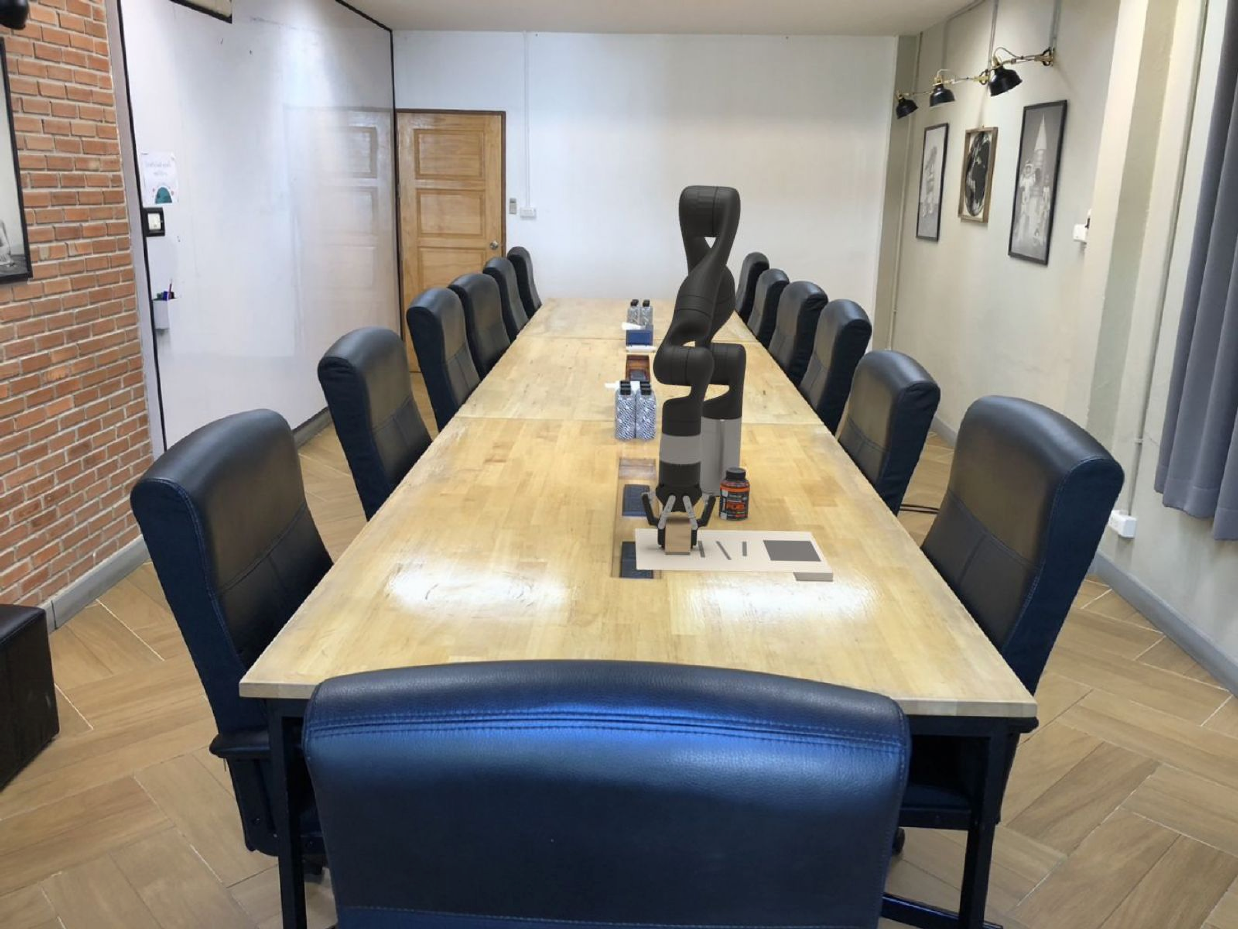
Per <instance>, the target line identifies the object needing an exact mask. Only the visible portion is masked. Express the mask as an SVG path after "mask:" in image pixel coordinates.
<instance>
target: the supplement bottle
mask: <svg viewBox="0 0 1238 929" xmlns="http://www.w3.org/2000/svg"><path fill="white" fill-rule="evenodd" d="M746 477H747V470H746V469H745V468H743V467H740V468H738V467H730V468H727V469H726V477H725V478H724V479H722V481H721V484H720V496H719V500H718V502H719V504H718V517H719V518H720V519H722V520H725V521H730V522H731V521H732V522H741V521H745V520H747V519H749V518H748V517H749V508H750V507H749V504H750V489H751V483H750V481H749V480H748V479H747V478H746Z"/></svg>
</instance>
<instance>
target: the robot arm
mask: <svg viewBox="0 0 1238 929" xmlns="http://www.w3.org/2000/svg"><path fill="white" fill-rule="evenodd" d="M740 195H741V194H740V193H739V191H738V189H736V188H734V187H731V186H721V185H720V186H719V185H703V184H702V185H698V184H697V185H695V184H694V185H688V186H686V187H684V189H683V190H682V191H681V193H680V195H679V200H678V220H679V227H680V233H681V238H682V243H683V247H684V253H685V258H686V264H687V276H686V277H685V278H684V280H683V281H682V282H681V284H680V286H679V288H678V290H677V294H676V298H675V304H674V309H673V314H672V317H671V318H672V319H671V322H670V324H669V327H668V329H667V331H666V334H665V335H664V337H663V339H662V341H661V343H660V345H659V346H658V348H657V350H656V352H655V355H654V358H653V362H652V372H653V375H654V378H655V379H656V381H657V382H658V383H660V384H662V385H665V386H678V387H690V392H689V394H688V395H685V396H679V397H673V398H669V399H667V400H665V401H664V402H663V404H662V407H661V408H662V410H661V432H660V433H661V434H660V440H659V447H658V448H659V451H658V456H659V458H658V482H657V486H656V487H655V489H654V490H650V491H646V490H645V491H642V492H641V501H642V506H643V508H644V512H645V517H646V520H647V523H648V525H649V526H651V527H652V526H653V527H656V529H658V535H657V541H658V545H661V548H665V524H666V521H667V519H668V517H669V515H670V514H671V513H677V512H680V513H682V514H687V515H688V518H689V522H691V548H690V549H693V546H696V544H697V530H699V529H700V528H702V527H704V528H706V527H707V526H708V525H709V521H710V518H711V516H712V513H713V510H714V507H715V505H716V502H717V498H716V497H717V496H719V497H720V484H721V481H722V479H724V478H725V477H726V469H727V468H730V467H738V468H741V466H740V464H741V448H742V447H741V445H742V444H741V443H742V428H743V427H742V425H743V424H742V422H743V421H742V420H743V405H744V403H743V400H744V386H745V379H746V378H745V377H746V370H747V369H746V368H747V351H746V347H745V346H744V345H743V344H742V343H735V342H734V343H733V342H717V341H716V342H713V338H714V337H715V336H716V334H717V333H718V332H719V331H720V330H721V329H722V328H723V326H725V324H726V323H727V322H728V321H729V320H730V319H731V317H732V315H733V313H734V311H735V309H736V304H737V299H736V298H737V296H736V282H735V277H734V275H733V273H732V271H731V270H730V268H729V267H728V265H727V264H728V261H729V257H730V256H731V251H732V249H733V246H734V242H735V239H736V235H737V233H738V229H739V224H740V220H741V212H742V211H741V209H742V208H741V196H740ZM706 238H714V239H715V240H714V241H713V243H712V246H710V245H709V243H708V241H707V240H706ZM691 342H694V346H690V345H686V344H688V343H691ZM709 385H713V386H725V387H726V386H727V387H728V390H727V391H726V392H725V393H723V394H721V395H719V396H716V397H715V396H714V397H711V398H708V399H706V400H705V397H706V393H707V391H708V388H709ZM655 498H657V500H659V502H660V504H661V505H662V508H661V510H660V514H659V516H658V517H655V515H654V511H653V508H652V507H653V506H652V504H653V503H654V502H655V501H654V500H655ZM701 498H702V503H703V505H704V507H703V509H702V513H701V516H700V518H697V517H696V515H695V511H694V507H695V505H697V503H698V502H699V501H700V499H701Z"/></svg>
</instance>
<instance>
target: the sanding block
mask: <svg viewBox="0 0 1238 929" xmlns="http://www.w3.org/2000/svg"><path fill="white" fill-rule="evenodd" d="M690 548H691V522H689V518H688V515H687V513H670V515H669V517H668V519H667V521H666V524H665V548H664V549H665V555H690Z"/></svg>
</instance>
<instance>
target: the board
mask: <svg viewBox="0 0 1238 929" xmlns="http://www.w3.org/2000/svg"><path fill="white" fill-rule="evenodd" d="M634 531H635V532H634V533H635V534H634V536H635V537H634V538H635V557H636V563H635V564H636V570H638V571H639V570H641V571H646V570H647V571H649V570H650V571H687V572H688V571H690V572H691V571H693V572H694V571H696V572H700V571H702V572H703V571H704V572H749V573H752V572H753V573H754V572H756V573H760V572H761V573H792V574H793V576H794V579H795V581H805V582H806V581H807V582H808V581H812V582H813V581H817V582H821V581H822V582H832V581H833V579H834V572H833V570H832V568H831V566H830V564H829V563H828V561H827V559H826V558H825V555H824V554H823V551H822V550H821V548H820V547H819V545H818V543H817V541H816V539H815V537H814V536H813V534H812V532H811V531H796V530H795V531H789V530H787V531H786V530H785V531H783V530H743V529H742V530H740V529H739V530H738V529H737V530H736V529H735V530H732V529H731V530H730V529H729V530H728V529H698V530H697V544H696V546H693V549H690V555H665V549H664V548H661V545H658V541H657V535H658V528H634Z"/></svg>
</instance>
